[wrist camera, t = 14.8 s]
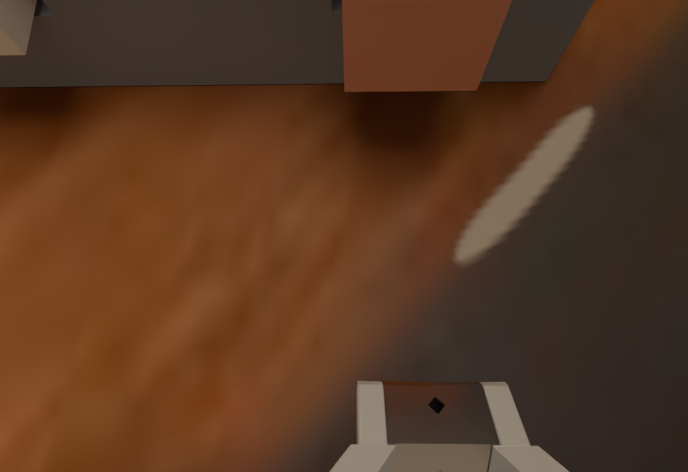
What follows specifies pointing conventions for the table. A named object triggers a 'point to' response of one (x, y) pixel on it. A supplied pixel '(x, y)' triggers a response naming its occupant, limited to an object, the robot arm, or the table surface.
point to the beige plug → (15, 25)
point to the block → (243, 42)
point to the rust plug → (418, 43)
